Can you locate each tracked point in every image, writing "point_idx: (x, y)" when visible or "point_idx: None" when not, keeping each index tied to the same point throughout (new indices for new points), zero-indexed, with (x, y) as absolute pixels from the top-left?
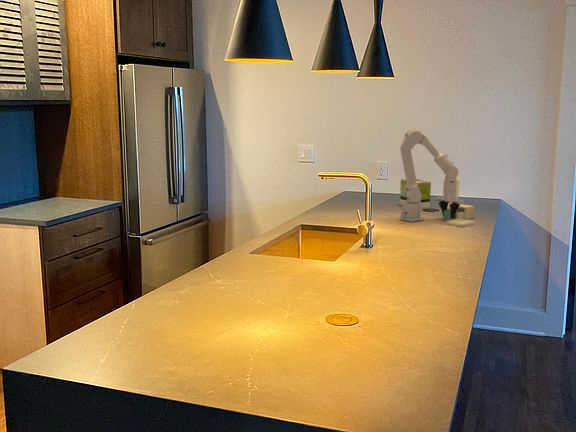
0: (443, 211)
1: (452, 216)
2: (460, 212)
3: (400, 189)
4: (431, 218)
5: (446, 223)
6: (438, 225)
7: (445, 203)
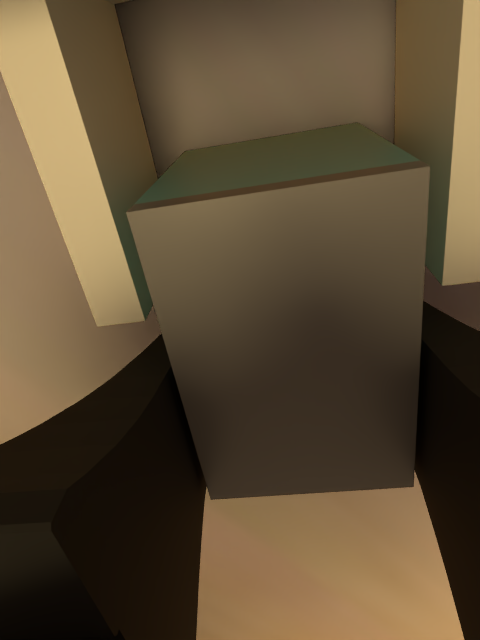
0: None
1: None
2: (476, 54)
3: None
4: None
5: None
6: (434, 595)
7: (152, 622)
